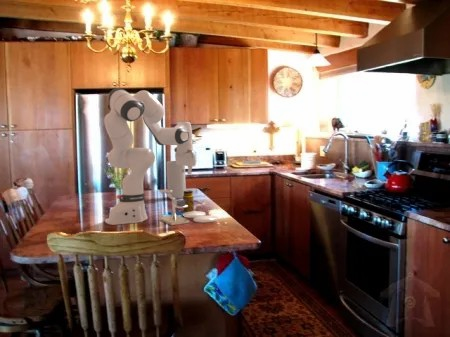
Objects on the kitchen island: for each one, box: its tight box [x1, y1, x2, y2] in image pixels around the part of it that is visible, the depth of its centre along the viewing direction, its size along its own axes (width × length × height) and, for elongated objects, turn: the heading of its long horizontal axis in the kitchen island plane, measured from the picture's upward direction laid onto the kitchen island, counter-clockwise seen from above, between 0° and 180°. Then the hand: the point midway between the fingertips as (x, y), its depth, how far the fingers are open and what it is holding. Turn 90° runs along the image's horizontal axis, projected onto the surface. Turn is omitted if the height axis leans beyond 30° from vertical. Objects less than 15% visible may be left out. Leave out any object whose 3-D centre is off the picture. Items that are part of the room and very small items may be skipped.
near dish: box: [193, 215, 219, 224], centre depth 245 cm, size 13×13×1 cm
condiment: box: [178, 189, 195, 213], centre depth 269 cm, size 7×8×12 cm
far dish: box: [181, 210, 207, 219], centre depth 258 cm, size 13×13×1 cm
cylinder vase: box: [166, 160, 187, 200], centre depth 319 cm, size 12×12×25 cm
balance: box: [159, 189, 190, 226], centre depth 243 cm, size 10×26×15 cm, turn 30°
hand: (186, 173), depth 268 cm, fingers open, 8 cm apart
